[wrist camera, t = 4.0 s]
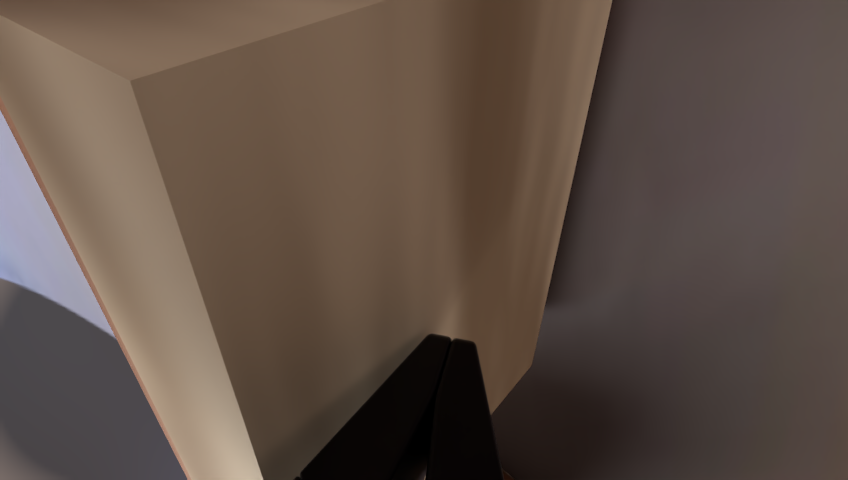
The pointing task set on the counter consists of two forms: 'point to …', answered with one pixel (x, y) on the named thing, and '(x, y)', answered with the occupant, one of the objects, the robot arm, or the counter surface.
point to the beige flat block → (302, 193)
